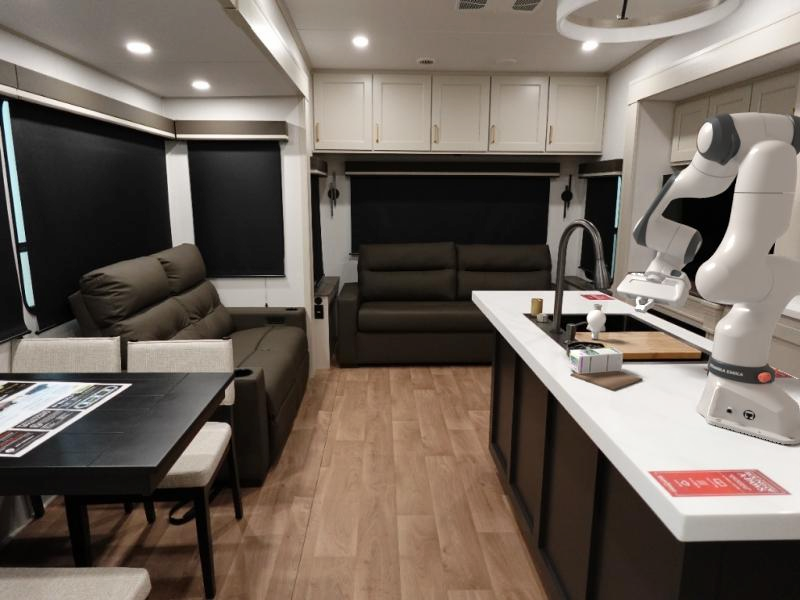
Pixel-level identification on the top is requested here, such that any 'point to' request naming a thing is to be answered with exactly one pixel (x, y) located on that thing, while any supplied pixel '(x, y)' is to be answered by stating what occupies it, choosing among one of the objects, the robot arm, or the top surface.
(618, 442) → the top surface
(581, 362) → the syrup box
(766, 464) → the top surface
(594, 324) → the lightbulb
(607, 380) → the walnut board
